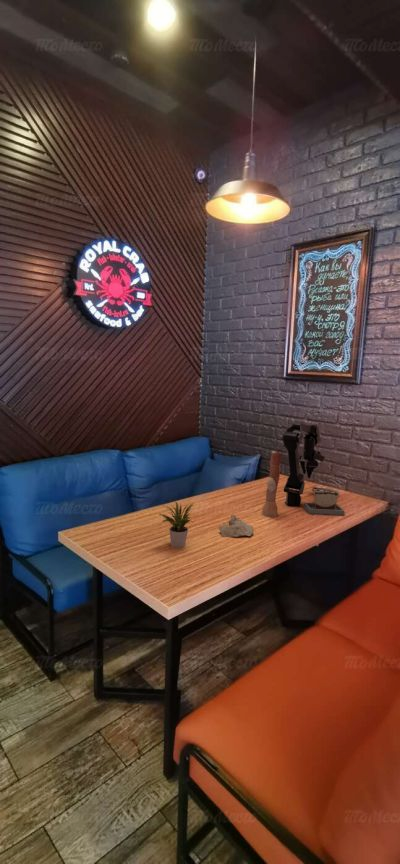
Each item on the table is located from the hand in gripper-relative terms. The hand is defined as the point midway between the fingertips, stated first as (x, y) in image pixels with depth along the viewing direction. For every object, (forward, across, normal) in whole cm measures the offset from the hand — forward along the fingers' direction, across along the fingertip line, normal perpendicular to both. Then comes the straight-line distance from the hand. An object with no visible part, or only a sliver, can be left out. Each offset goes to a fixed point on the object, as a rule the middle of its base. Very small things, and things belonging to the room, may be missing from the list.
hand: (306, 475), depth 229 cm
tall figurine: (+12, -30, +24) cm, 40 cm away
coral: (+13, -54, +43) cm, 70 cm away
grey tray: (+12, -23, -3) cm, 26 cm away
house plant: (+12, -69, +66) cm, 96 cm away
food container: (+12, -22, -3) cm, 25 cm away
